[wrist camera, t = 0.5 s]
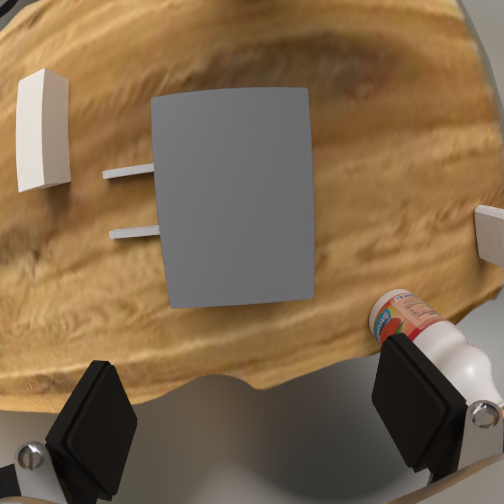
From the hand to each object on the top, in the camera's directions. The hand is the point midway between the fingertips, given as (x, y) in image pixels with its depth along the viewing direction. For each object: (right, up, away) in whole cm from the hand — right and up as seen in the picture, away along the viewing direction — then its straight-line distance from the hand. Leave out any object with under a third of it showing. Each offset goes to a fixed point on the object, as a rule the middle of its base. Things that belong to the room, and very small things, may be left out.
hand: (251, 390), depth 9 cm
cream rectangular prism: (-29, +22, +23) cm, 43 cm away
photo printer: (+42, +8, +31) cm, 53 cm away
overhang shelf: (-7, +12, +27) cm, 30 cm away
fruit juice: (+23, -5, +34) cm, 41 cm away
